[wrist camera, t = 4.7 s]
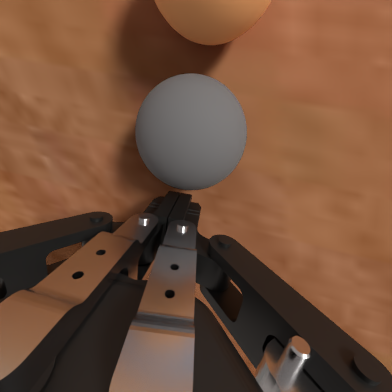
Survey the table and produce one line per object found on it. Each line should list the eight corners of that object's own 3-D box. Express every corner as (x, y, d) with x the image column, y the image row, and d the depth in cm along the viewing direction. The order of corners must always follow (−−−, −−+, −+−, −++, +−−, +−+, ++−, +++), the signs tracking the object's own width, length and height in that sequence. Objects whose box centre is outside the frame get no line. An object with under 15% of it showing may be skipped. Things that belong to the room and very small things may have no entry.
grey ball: (280, 170, 8) (264, 109, 11) (160, 60, 6) (189, 30, 9) (192, 225, 11) (203, 164, 15) (97, 170, 9) (137, 116, 13)
